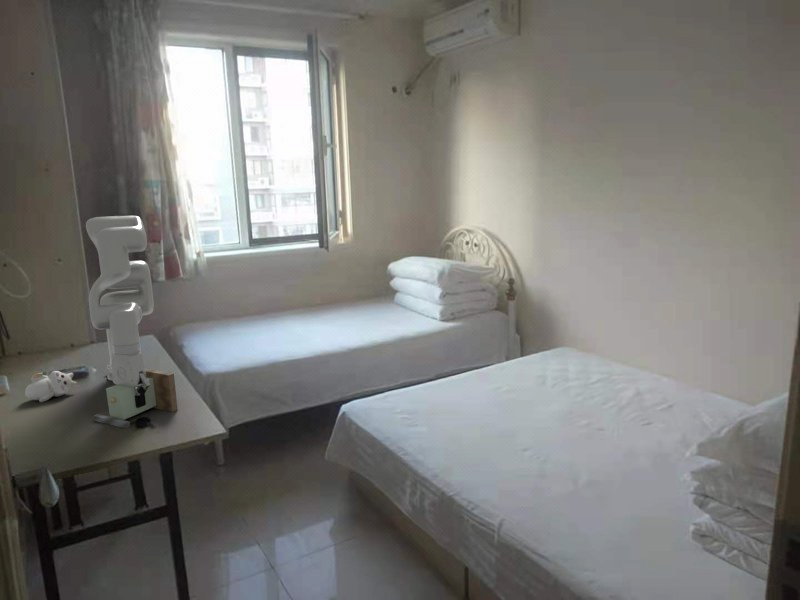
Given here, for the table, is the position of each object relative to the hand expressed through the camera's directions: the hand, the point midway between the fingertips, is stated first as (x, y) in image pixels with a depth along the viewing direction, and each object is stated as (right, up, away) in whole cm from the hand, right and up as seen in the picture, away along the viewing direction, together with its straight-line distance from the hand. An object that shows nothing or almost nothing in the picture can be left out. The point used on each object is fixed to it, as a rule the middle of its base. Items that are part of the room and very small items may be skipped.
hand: (133, 404), depth 179 cm
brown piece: (0, -3, 0) cm, 3 cm away
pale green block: (0, -2, 0) cm, 2 cm away
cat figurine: (-35, -1, +16) cm, 38 cm away
